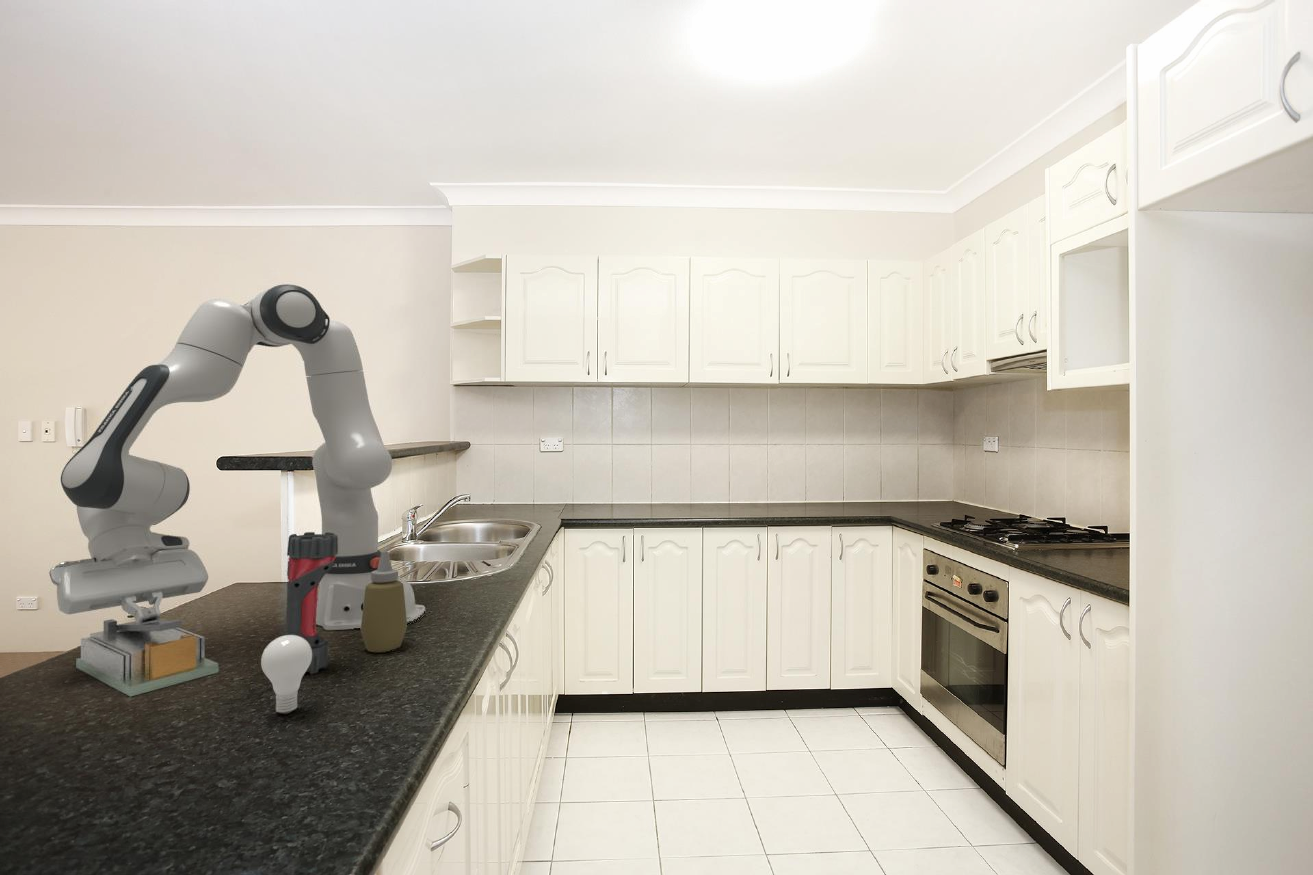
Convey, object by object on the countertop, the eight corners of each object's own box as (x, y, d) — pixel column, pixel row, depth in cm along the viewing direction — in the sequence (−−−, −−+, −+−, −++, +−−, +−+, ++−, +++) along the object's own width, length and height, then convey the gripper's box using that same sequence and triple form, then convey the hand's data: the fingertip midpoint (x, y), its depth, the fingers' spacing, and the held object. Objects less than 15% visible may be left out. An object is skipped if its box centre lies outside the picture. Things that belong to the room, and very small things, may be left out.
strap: (115, 630, 111) (115, 624, 112) (136, 626, 114) (136, 620, 114) (159, 631, 102) (159, 624, 102) (181, 626, 105) (181, 620, 105)
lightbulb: (288, 724, 89) (289, 644, 89) (249, 719, 90) (250, 641, 90) (321, 705, 95) (322, 630, 95) (284, 701, 96) (285, 627, 96)
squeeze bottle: (361, 658, 115) (362, 557, 115) (359, 644, 122) (359, 549, 122) (409, 651, 119) (410, 553, 119) (404, 639, 126) (405, 546, 126)
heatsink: (76, 667, 109) (76, 623, 109) (160, 648, 119) (160, 607, 119) (130, 696, 97) (130, 646, 97) (218, 672, 108) (218, 627, 108)
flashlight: (346, 664, 112) (348, 532, 112) (310, 680, 104) (311, 538, 104) (311, 659, 114) (312, 529, 114) (272, 674, 107) (274, 536, 107)
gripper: (51, 551, 103) (73, 622, 98) (197, 536, 120) (222, 596, 115) (41, 576, 105) (62, 647, 100) (186, 557, 122) (210, 617, 117)
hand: (149, 619), depth 107 cm, fingers closed, pressing on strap
